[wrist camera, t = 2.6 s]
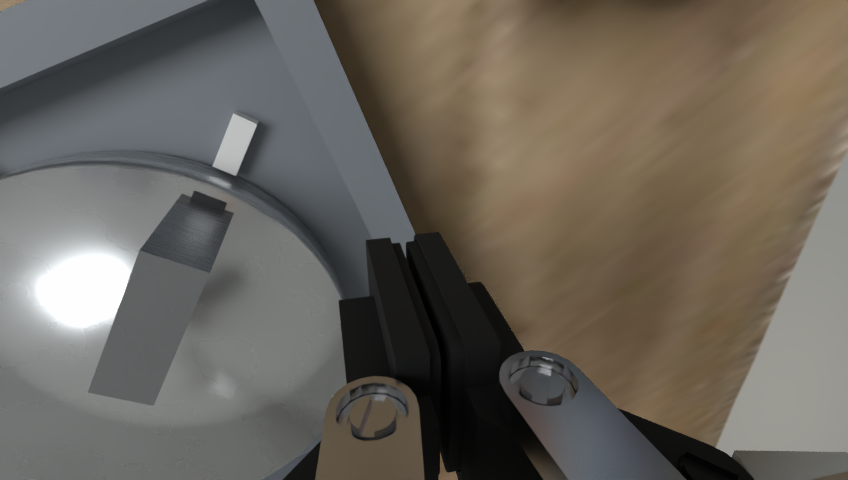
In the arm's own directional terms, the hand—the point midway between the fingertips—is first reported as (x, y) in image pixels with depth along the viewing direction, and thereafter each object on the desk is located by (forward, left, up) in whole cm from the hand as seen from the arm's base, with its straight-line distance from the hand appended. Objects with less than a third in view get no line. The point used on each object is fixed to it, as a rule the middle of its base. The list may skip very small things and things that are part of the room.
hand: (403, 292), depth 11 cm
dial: (-2, +10, -8) cm, 13 cm away
